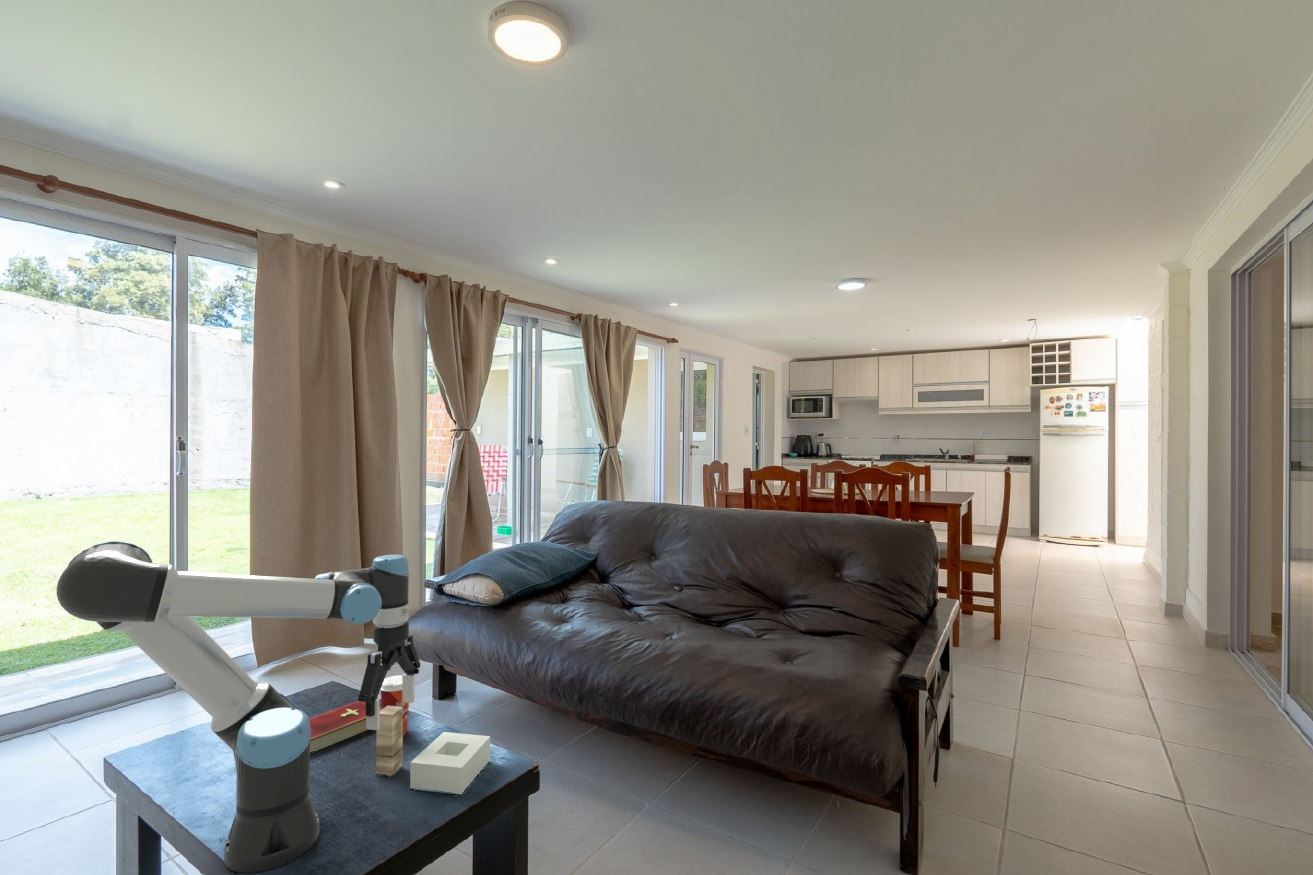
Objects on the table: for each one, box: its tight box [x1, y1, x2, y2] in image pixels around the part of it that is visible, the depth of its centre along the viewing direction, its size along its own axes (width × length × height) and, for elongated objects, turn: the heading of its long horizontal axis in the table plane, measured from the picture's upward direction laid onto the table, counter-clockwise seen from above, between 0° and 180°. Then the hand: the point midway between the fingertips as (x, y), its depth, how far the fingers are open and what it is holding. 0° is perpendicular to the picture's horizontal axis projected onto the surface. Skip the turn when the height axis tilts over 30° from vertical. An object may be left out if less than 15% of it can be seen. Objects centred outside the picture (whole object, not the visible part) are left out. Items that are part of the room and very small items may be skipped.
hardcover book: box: [309, 700, 382, 753], centre depth 157 cm, size 12×21×4 cm, turn 146°
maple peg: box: [375, 706, 404, 775], centre depth 139 cm, size 4×4×14 cm
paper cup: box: [380, 674, 410, 737], centre depth 156 cm, size 8×8×14 cm
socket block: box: [409, 731, 491, 794], centre depth 137 cm, size 14×12×6 cm
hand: (391, 714), depth 139 cm, fingers open, 13 cm apart
